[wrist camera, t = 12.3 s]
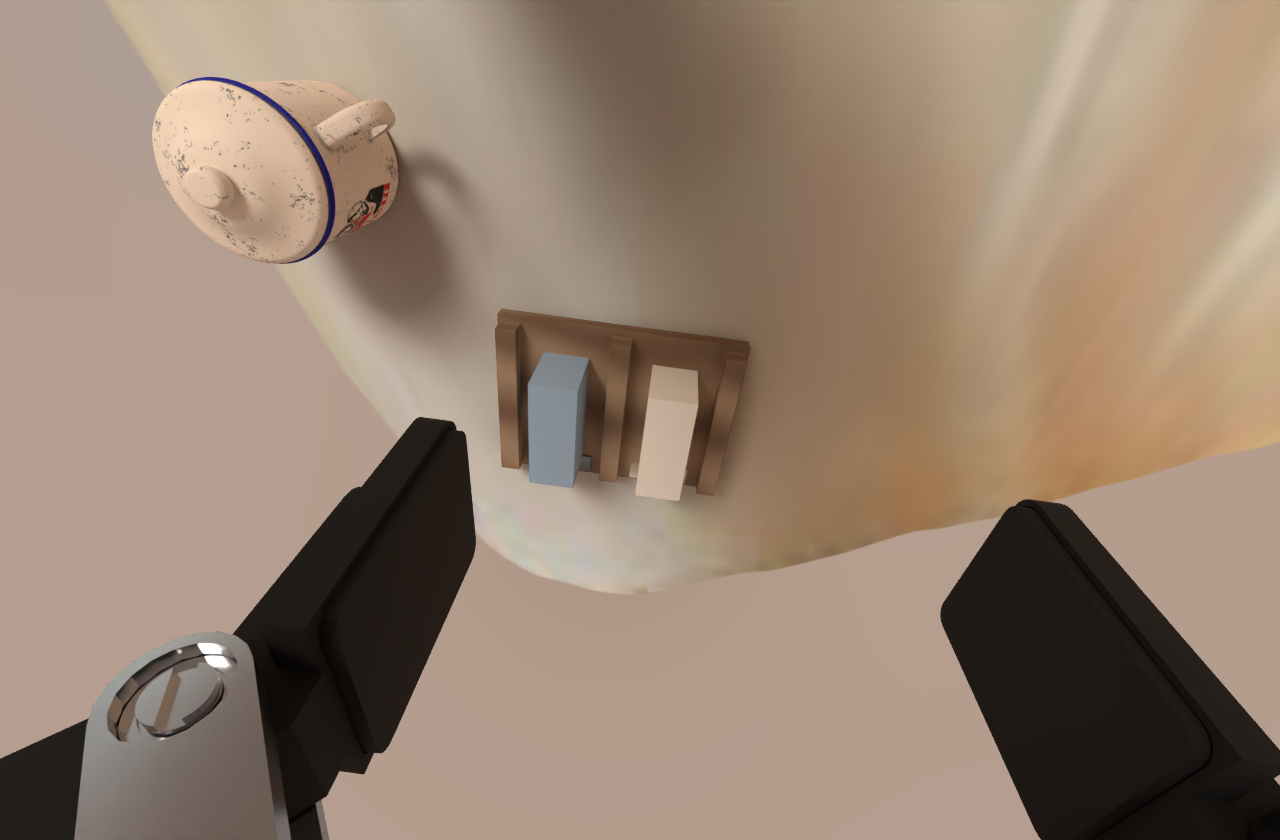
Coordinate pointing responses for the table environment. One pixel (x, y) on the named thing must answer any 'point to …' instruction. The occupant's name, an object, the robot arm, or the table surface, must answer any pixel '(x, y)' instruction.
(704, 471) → the slot rack
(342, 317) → the table surface
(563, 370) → the blue stub
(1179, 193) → the table surface
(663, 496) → the ivory stub
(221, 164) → the teacup with lid
